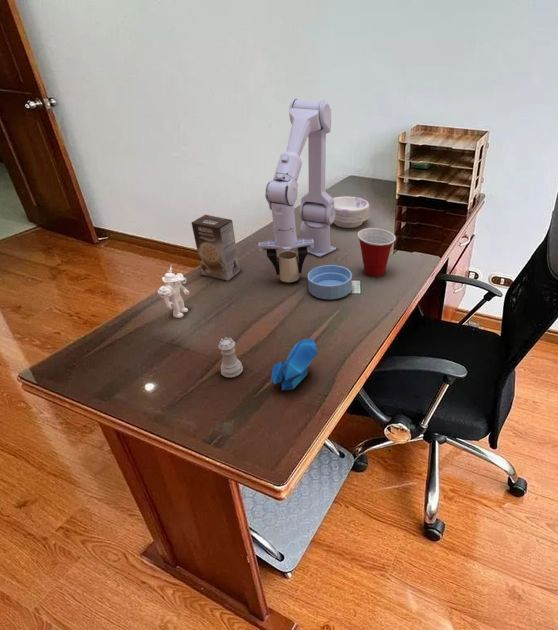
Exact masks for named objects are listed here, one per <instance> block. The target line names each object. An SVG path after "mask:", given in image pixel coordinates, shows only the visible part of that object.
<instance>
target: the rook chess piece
mask: <svg viewBox="0 0 558 630" xmlns="http://www.w3.org/2000/svg"><path fill="white" fill-rule="evenodd" d="M235 346H236V342H235V341H234V340H233V339H232V337H227V336H225V337H224V338H221V339H220V341H219V344H218V346H217V347H218V349H219V350H220V354H221V355H222V362H221V365H220V374H221V375H222V376H223V377H225V378H229V379H232V378H236V377H239V376H240V375H241V374H242V372H243V370H244V366H243V363H242V362H241V361H240V360H239V358H238V357H237V355H236V348H235Z"/></svg>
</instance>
